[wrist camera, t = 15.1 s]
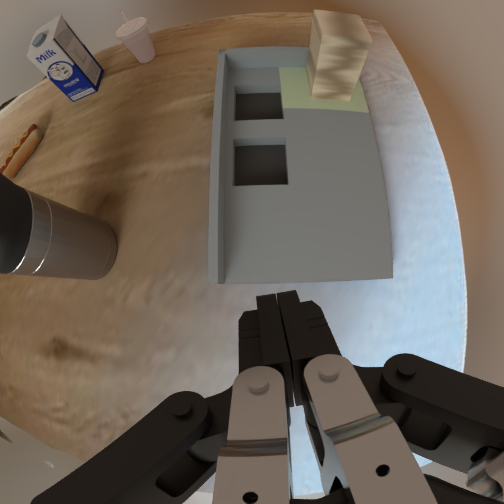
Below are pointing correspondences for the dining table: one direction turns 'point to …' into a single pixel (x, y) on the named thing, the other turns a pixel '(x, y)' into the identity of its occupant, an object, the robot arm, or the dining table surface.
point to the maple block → (336, 54)
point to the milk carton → (65, 59)
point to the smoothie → (137, 38)
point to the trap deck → (292, 177)
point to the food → (21, 151)
